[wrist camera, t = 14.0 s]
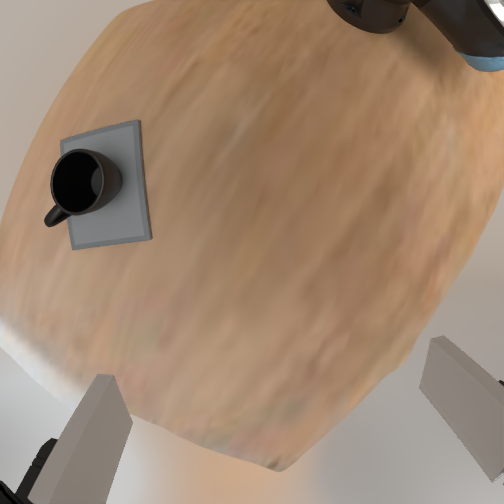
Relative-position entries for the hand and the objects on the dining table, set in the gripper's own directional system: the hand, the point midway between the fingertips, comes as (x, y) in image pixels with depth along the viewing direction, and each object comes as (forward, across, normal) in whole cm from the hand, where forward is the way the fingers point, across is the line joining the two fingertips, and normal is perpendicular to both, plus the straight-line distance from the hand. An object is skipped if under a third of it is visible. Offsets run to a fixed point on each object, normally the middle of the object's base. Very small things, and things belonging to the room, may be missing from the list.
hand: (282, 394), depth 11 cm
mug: (+33, -22, +10) cm, 41 cm away
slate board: (+34, -21, +10) cm, 42 cm away
